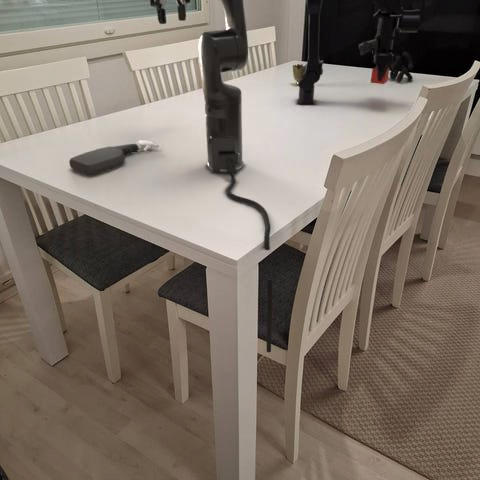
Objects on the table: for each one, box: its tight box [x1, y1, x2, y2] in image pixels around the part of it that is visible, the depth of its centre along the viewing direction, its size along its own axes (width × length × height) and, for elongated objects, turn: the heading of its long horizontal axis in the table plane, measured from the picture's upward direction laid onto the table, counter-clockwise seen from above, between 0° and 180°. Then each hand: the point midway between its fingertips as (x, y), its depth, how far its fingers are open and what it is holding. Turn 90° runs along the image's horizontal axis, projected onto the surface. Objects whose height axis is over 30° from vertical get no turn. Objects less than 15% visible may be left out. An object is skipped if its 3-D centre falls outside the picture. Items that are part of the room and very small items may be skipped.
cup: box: [292, 63, 307, 86], centre depth 194 cm, size 8×7×8 cm
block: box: [370, 66, 391, 85], centre depth 161 cm, size 5×5×5 cm
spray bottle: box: [68, 139, 160, 177], centre depth 124 cm, size 3×11×24 cm
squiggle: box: [389, 51, 414, 83], centre depth 198 cm, size 11×10×15 cm
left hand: (172, 22), depth 128 cm, fingers open, 8 cm apart
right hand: (379, 79), depth 162 cm, fingers closed on block, 5 cm apart
